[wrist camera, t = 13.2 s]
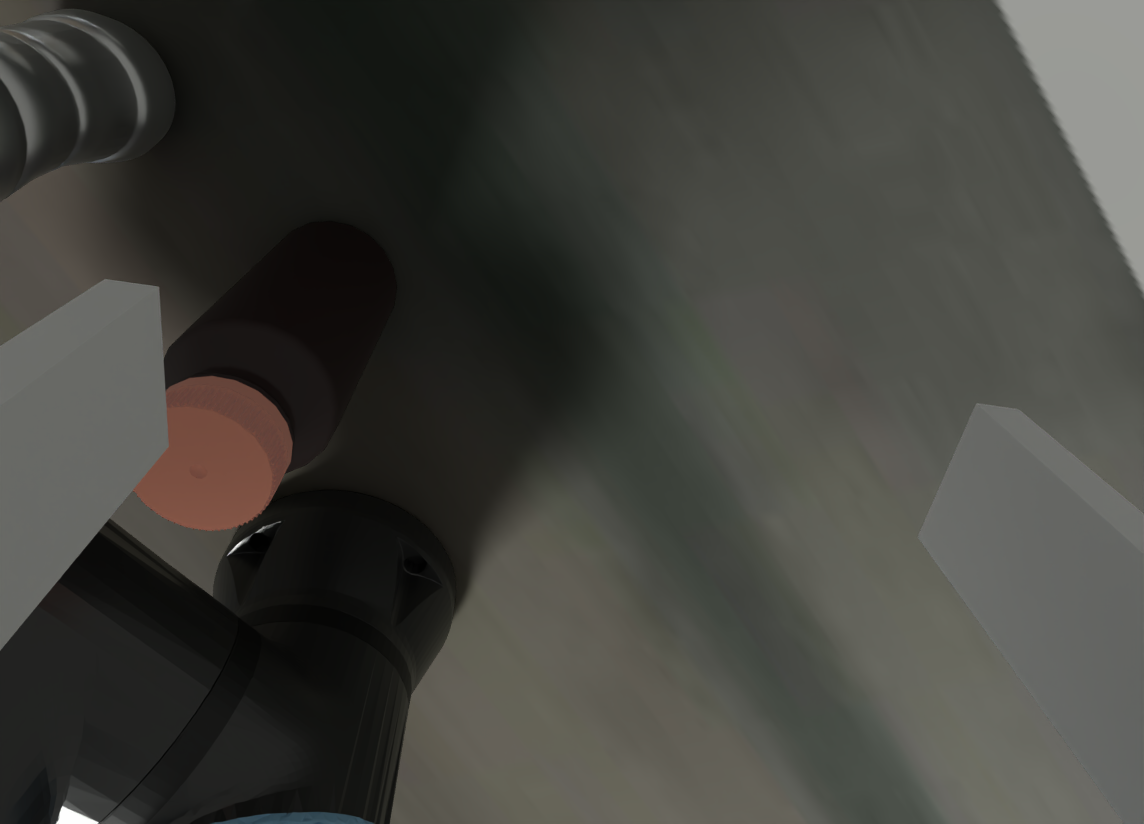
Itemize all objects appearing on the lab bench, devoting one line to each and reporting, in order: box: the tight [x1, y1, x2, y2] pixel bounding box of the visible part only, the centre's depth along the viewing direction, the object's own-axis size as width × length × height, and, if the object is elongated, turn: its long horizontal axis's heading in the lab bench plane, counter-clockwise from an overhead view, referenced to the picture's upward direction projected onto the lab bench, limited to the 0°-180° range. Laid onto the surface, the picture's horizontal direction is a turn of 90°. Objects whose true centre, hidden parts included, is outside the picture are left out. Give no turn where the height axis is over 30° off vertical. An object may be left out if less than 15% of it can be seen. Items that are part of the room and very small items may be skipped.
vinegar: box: [133, 221, 397, 531], centre depth 35 cm, size 7×7×20 cm
